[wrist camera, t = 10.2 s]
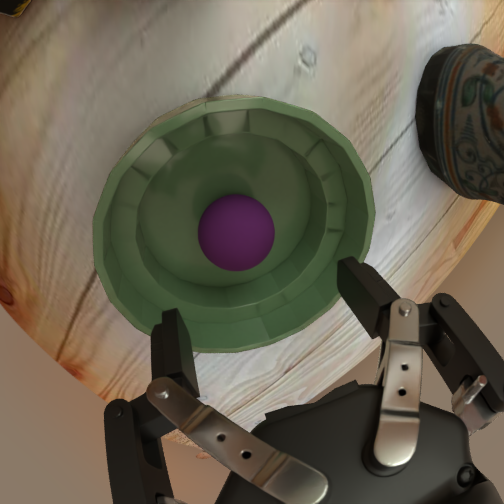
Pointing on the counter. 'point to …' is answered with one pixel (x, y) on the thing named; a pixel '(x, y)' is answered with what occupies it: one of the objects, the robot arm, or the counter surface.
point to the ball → (236, 232)
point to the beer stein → (464, 120)
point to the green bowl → (214, 187)
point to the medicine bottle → (13, 7)
